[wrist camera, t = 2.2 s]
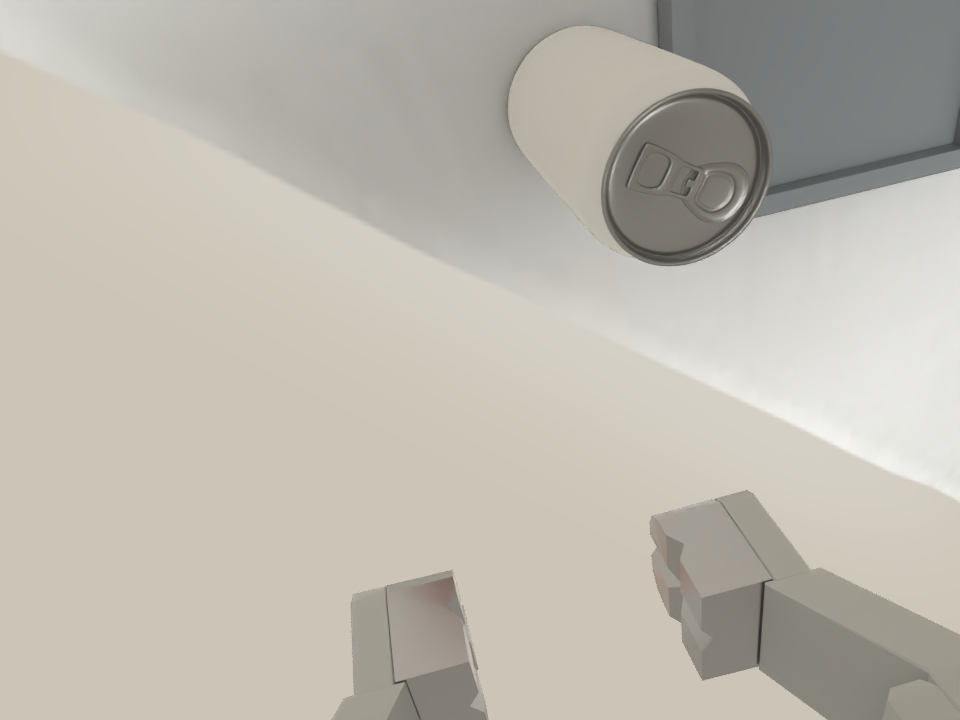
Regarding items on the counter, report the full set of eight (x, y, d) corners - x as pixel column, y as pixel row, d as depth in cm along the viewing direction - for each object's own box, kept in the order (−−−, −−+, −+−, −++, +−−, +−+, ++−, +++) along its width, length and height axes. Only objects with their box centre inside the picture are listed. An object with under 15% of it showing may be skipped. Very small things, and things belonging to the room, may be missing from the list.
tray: (1021, -176, 30) (1052, -180, 29) (958, 154, 38) (980, 162, 36) (653, -98, 29) (669, -98, 28) (665, 225, 36) (677, 236, 35)
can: (608, 189, 35) (723, 298, 25) (484, 150, 33) (556, 251, 23) (667, 53, 32) (825, 113, 22) (537, 0, 30) (645, 40, 20)
